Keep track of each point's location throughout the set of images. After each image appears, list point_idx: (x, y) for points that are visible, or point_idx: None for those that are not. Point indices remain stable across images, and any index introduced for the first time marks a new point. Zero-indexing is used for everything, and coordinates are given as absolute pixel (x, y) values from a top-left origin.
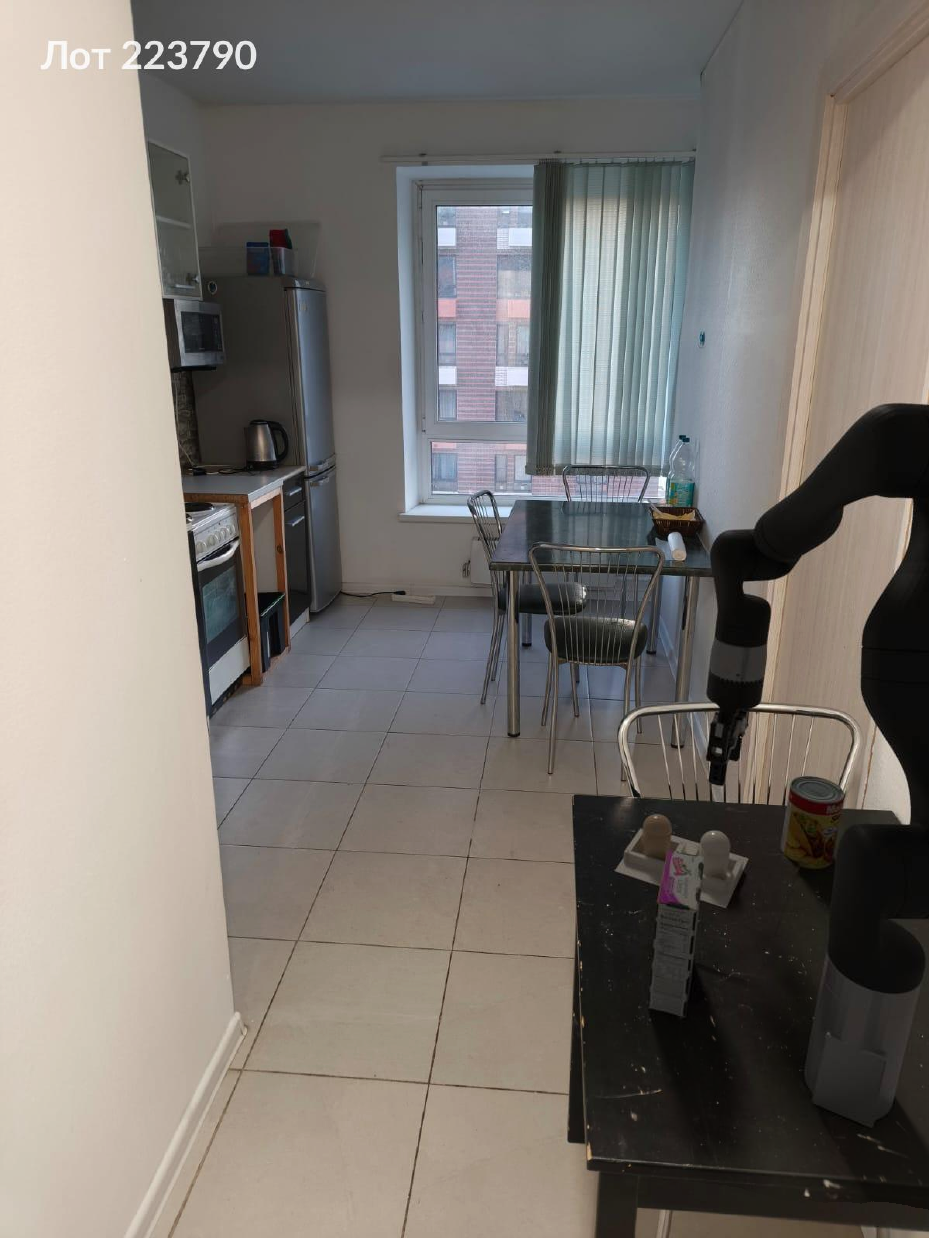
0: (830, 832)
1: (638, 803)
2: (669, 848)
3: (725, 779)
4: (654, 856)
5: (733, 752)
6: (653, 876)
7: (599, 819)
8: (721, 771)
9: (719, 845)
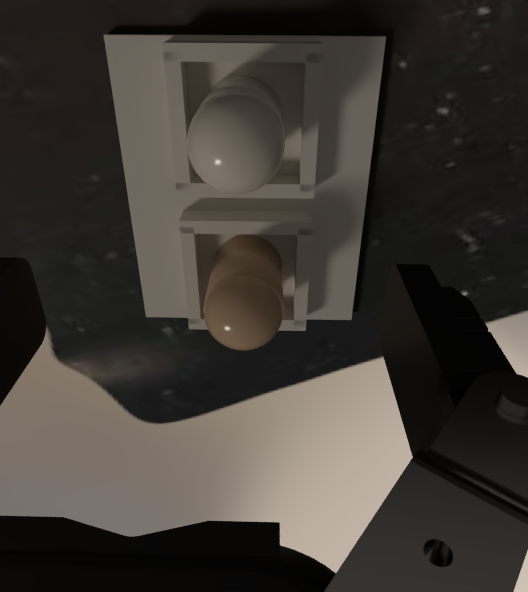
0: None
1: (54, 352)
2: (244, 250)
3: (401, 275)
4: (281, 269)
5: (6, 318)
6: (332, 245)
7: (172, 394)
8: (500, 351)
9: (271, 130)
